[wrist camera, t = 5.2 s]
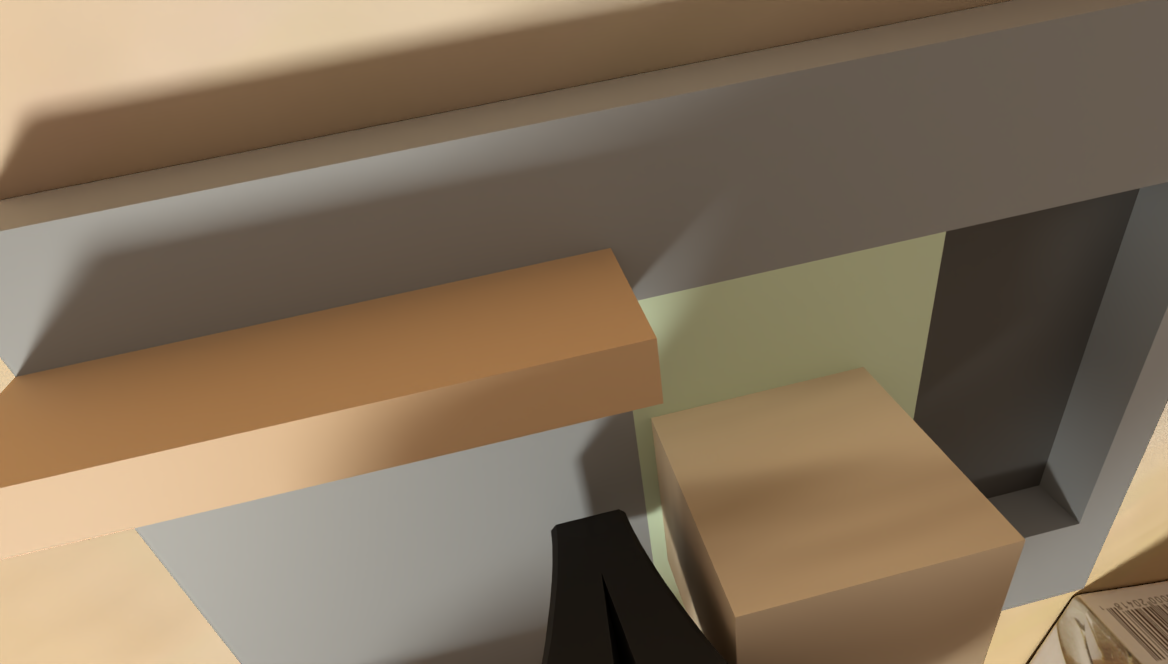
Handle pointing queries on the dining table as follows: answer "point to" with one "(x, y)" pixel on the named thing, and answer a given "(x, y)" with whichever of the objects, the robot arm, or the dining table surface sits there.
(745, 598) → the birch block
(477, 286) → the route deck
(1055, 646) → the coffee box
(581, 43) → the dining table surface
